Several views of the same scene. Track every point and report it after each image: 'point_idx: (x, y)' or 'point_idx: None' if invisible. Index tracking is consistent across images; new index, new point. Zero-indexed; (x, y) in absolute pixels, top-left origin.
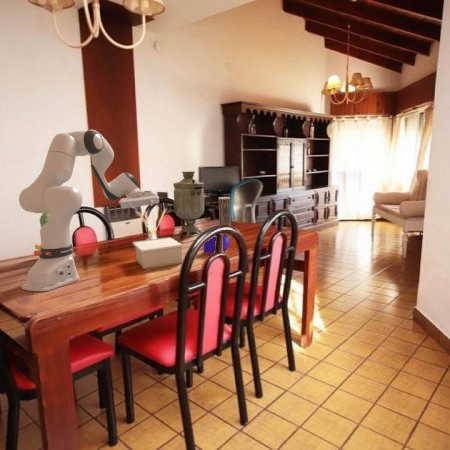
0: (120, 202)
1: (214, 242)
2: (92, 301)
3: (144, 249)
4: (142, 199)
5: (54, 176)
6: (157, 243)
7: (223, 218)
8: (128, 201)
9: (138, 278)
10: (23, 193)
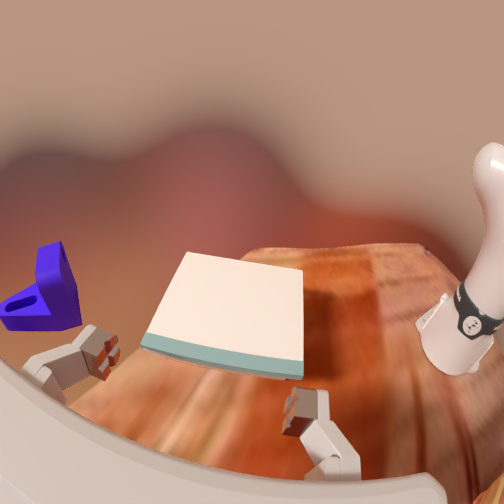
0: (444, 492)
1: (69, 278)
2: (377, 246)
3: (293, 272)
4: (122, 439)
5: None
6: (232, 300)
7: None
8: (359, 483)
9: (313, 274)
10: None
